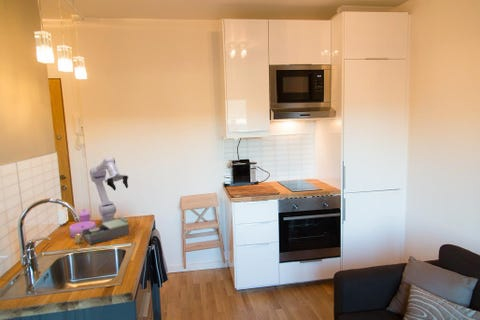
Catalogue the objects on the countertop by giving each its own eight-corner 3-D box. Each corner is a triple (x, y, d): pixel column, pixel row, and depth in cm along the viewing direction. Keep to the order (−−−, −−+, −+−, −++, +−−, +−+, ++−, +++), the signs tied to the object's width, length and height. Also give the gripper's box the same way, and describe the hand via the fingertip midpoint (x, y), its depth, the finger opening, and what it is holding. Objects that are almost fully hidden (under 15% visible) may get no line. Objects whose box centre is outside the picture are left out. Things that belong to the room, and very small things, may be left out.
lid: (102, 224, 202) (101, 220, 202) (120, 220, 210) (119, 215, 210) (110, 229, 192) (109, 224, 192) (128, 224, 200) (128, 220, 200)
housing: (83, 239, 195) (82, 229, 194) (120, 229, 211) (120, 220, 210) (90, 245, 185) (89, 235, 184) (129, 234, 201) (128, 225, 200)
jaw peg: (74, 243, 189) (73, 234, 188) (81, 241, 191) (80, 232, 190) (76, 245, 186) (75, 235, 185) (83, 243, 188) (82, 233, 188)
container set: (94, 236, 200) (93, 216, 198) (68, 240, 195) (66, 220, 193) (98, 224, 223) (96, 206, 222) (74, 227, 218) (72, 209, 216)
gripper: (103, 169, 190) (110, 186, 184) (126, 166, 200) (133, 182, 194) (101, 177, 194) (108, 193, 188) (123, 174, 204) (131, 189, 198)
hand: (121, 188), depth 191 cm, fingers open, 7 cm apart
